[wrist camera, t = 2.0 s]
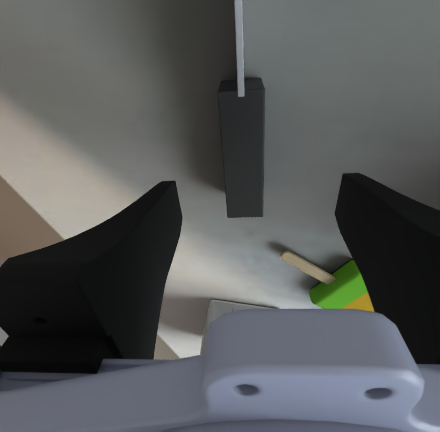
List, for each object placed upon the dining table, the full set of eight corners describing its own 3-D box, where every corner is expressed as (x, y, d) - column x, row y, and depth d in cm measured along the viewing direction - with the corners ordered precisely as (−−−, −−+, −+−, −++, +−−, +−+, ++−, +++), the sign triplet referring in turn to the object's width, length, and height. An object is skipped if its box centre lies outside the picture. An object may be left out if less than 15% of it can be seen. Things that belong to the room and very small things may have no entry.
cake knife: (260, 193, 21) (264, 231, 17) (228, 195, 21) (226, 232, 17) (263, -264, 10) (278, -432, 6) (197, -250, 10) (172, -406, 6)
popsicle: (372, 323, 29) (379, 339, 28) (261, 264, 25) (263, 280, 24) (419, 297, 26) (430, 313, 25) (303, 226, 22) (308, 241, 21)
